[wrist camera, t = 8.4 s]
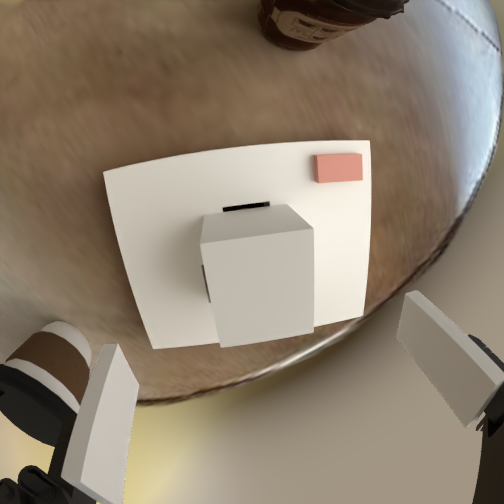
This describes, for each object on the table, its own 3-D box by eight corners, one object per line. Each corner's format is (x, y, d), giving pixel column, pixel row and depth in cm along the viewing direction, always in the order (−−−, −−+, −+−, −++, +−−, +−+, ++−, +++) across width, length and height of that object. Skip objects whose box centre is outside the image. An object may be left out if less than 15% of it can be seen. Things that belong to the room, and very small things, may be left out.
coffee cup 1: (19, 325, 24) (-26, 389, 13) (60, 285, 23) (1, 361, 12) (77, 383, 29) (51, 454, 18) (128, 357, 28) (104, 446, 16)
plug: (284, 273, 26) (313, 332, 17) (218, 282, 25) (220, 347, 17) (278, 196, 23) (313, 228, 15) (205, 206, 22) (199, 243, 14)
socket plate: (350, 300, 28) (366, 320, 24) (158, 329, 26) (152, 354, 23) (352, 139, 22) (374, 140, 18) (116, 167, 20) (99, 173, 17)
